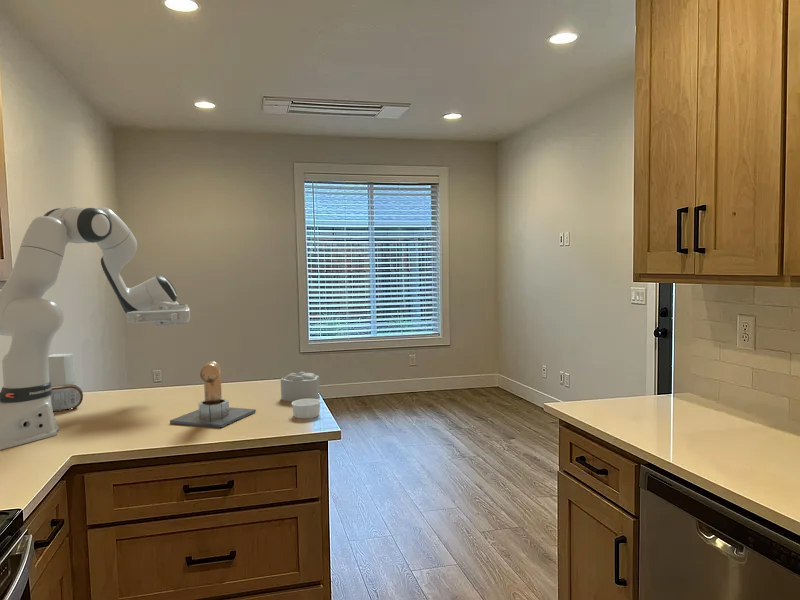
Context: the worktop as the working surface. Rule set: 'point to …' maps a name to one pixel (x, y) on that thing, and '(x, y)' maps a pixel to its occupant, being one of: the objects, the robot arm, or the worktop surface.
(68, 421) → the worktop surface
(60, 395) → the tin
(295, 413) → the ramekin
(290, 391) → the lumpy-topped squat cylinder
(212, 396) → the wooden knob peg
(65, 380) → the skincare box
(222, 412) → the duct collar
